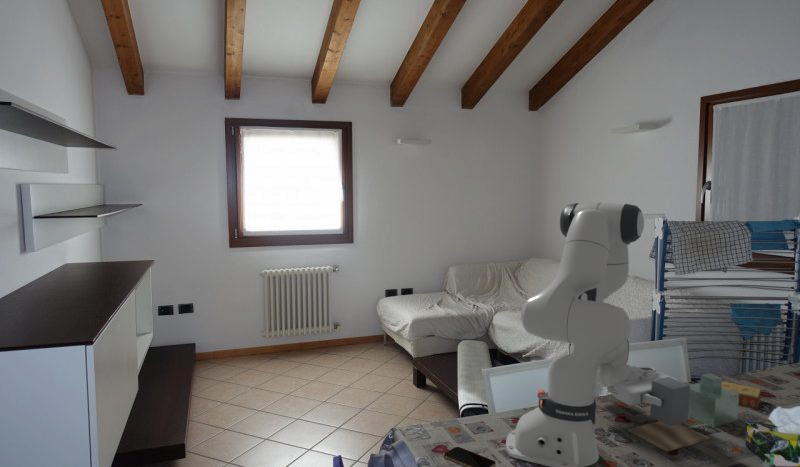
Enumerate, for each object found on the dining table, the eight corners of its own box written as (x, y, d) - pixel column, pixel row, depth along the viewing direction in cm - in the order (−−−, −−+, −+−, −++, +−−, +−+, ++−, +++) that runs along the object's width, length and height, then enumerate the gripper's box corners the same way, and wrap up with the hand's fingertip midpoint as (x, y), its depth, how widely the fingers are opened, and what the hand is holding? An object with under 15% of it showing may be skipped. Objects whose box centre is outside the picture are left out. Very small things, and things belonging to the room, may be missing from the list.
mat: (666, 451, 131) (666, 449, 131) (628, 431, 142) (628, 429, 142) (709, 439, 138) (709, 437, 138) (669, 420, 148) (669, 418, 148)
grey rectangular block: (670, 426, 135) (673, 389, 134) (650, 416, 141) (651, 380, 140) (687, 421, 138) (689, 385, 137) (666, 411, 144) (668, 376, 143)
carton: (757, 410, 157) (758, 396, 156) (697, 396, 167) (698, 383, 167) (760, 401, 163) (761, 388, 163) (702, 388, 173) (703, 375, 173)
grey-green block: (713, 427, 145) (716, 385, 144) (681, 412, 154) (683, 373, 153) (737, 420, 149) (740, 379, 148) (704, 407, 158) (706, 368, 157)
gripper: (604, 377, 146) (645, 395, 134) (655, 366, 155) (699, 383, 142) (603, 398, 147) (644, 419, 134) (654, 387, 155) (697, 405, 143)
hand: (672, 400), depth 138 cm, fingers closed on grey rectangular block, 6 cm apart
